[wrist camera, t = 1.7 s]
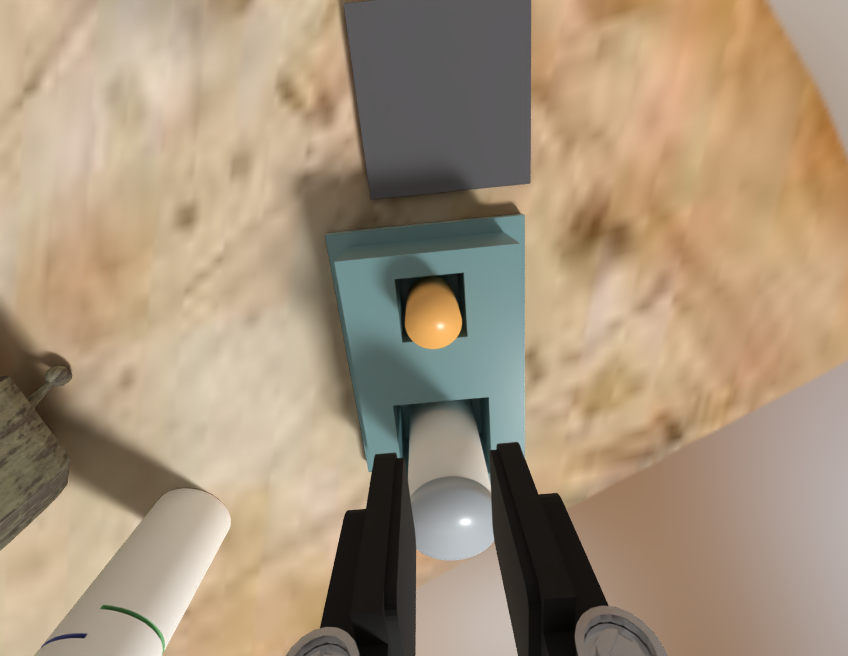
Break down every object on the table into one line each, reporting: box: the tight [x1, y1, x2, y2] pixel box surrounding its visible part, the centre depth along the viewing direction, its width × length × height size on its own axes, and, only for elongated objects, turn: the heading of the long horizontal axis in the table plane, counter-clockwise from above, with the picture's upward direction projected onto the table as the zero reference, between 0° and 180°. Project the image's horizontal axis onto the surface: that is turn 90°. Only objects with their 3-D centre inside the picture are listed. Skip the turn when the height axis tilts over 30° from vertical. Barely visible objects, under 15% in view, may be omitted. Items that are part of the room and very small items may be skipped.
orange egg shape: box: [405, 276, 462, 349], centre depth 24 cm, size 3×3×4 cm
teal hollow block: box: [325, 214, 525, 485], centre depth 29 cm, size 21×14×6 cm, turn 5°
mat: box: [344, 0, 531, 200], centre depth 25 cm, size 11×11×1 cm
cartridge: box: [408, 399, 494, 560], centre depth 27 cm, size 5×5×12 cm
